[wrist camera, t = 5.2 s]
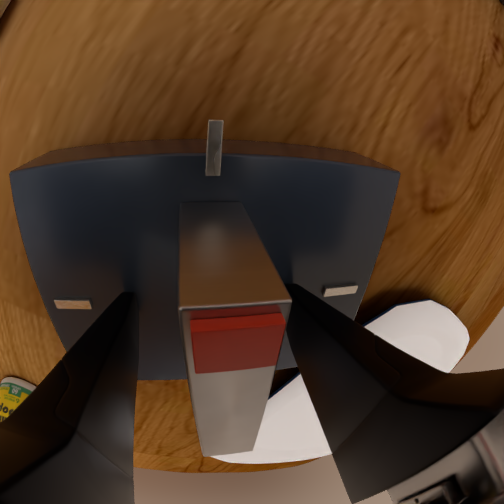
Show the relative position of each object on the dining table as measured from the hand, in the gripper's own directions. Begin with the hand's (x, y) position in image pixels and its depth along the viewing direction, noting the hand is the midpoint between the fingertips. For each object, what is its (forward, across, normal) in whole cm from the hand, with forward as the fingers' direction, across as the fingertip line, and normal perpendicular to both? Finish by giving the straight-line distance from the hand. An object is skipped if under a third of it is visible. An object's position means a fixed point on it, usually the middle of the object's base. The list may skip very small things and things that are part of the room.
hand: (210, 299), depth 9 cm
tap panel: (+3, 0, 0) cm, 3 cm away
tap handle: (0, 0, 0) cm, 0 cm away
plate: (+3, -14, +18) cm, 23 cm away
